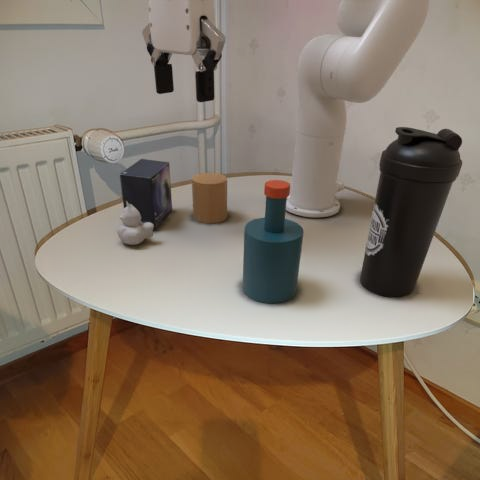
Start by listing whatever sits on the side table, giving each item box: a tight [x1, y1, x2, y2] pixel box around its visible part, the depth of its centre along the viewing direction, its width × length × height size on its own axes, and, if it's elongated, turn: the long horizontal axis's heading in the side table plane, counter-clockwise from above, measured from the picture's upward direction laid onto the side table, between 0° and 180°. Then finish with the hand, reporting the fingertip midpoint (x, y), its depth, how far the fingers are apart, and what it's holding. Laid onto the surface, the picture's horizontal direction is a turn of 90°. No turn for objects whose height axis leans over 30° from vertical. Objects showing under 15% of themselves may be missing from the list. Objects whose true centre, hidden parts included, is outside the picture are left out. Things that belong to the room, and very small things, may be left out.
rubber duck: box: [116, 201, 154, 246], centre depth 74 cm, size 5×7×8 cm
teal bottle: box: [242, 179, 305, 304], centre depth 60 cm, size 8×8×16 cm
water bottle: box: [359, 126, 463, 299], centre depth 61 cm, size 10×10×23 cm
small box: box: [119, 158, 173, 231], centre depth 82 cm, size 11×6×10 cm, turn 168°
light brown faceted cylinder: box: [191, 172, 228, 224], centre depth 85 cm, size 7×7×8 cm
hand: (184, 96), depth 66 cm, fingers open, 9 cm apart
